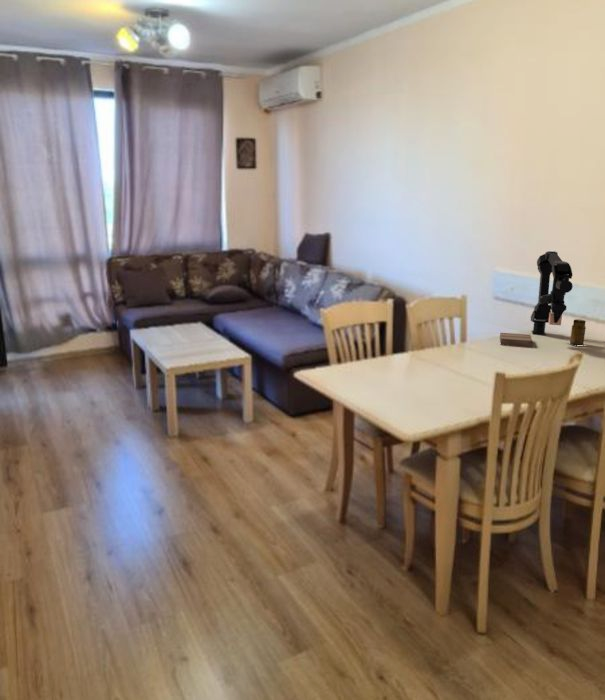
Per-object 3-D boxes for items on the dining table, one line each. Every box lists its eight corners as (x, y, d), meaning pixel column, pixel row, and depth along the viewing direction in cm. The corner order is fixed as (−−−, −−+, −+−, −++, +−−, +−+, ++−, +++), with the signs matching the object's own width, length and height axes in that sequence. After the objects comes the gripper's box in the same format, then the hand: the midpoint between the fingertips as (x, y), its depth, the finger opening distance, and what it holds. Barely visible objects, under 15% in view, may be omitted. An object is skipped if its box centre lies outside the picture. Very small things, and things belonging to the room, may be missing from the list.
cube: (548, 322, 292) (549, 312, 290) (559, 323, 290) (560, 313, 289) (549, 324, 287) (550, 314, 286) (560, 325, 286) (562, 315, 284)
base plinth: (499, 338, 302) (500, 332, 301) (529, 340, 299) (529, 334, 298) (500, 344, 289) (501, 338, 288) (531, 347, 286) (532, 341, 285)
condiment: (578, 342, 297) (581, 318, 294) (589, 346, 289) (593, 322, 286) (565, 343, 295) (568, 319, 292) (576, 347, 287) (579, 322, 284)
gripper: (538, 285, 295) (535, 317, 299) (542, 291, 278) (538, 324, 282) (563, 287, 292) (559, 318, 296) (568, 292, 275) (564, 326, 279)
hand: (554, 321), depth 288 cm, fingers closed on cube, 5 cm apart
